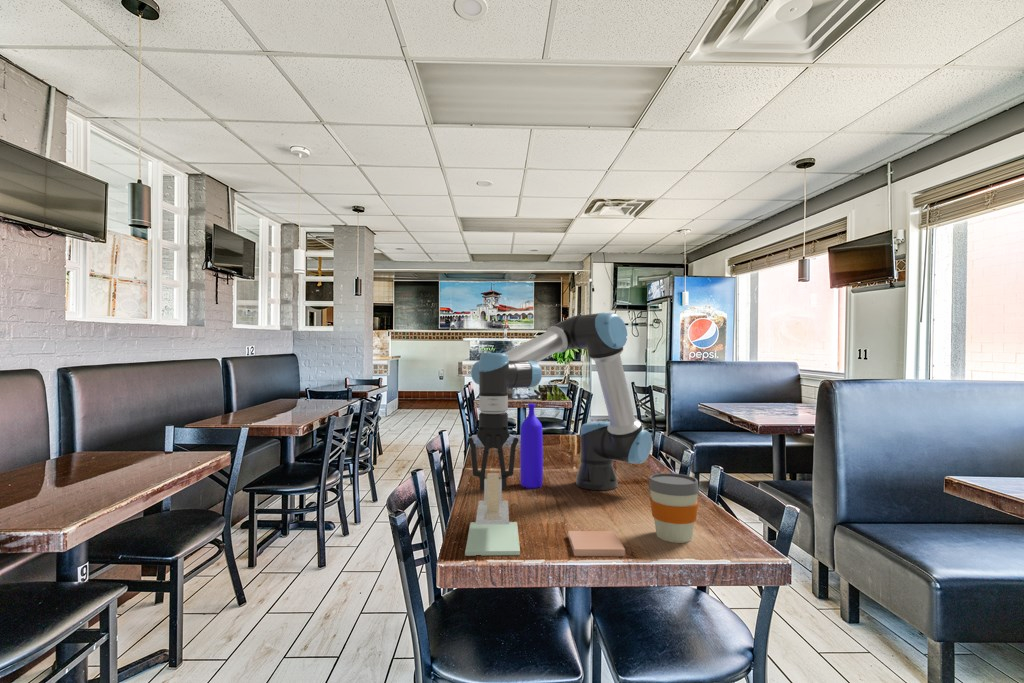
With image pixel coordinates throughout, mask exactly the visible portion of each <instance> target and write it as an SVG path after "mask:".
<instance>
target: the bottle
mask: <svg viewBox="0 0 1024 683" xmlns="http://www.w3.org/2000/svg"><path fill="white" fill-rule="evenodd" d="M527 406H528V415H527V417H525V418H524V420H523V421H522V422H521V425H520V439H519V440H520V449H519V450H520V451H519V452H520V455H519V456H520V458H519V459H520V460H519V461H520V462H519V463H520V465H519V466H520V467H519V468H520V486H521V487H522V486H523V487H522V488H524V487H526V488H525V489H539V488H538V487H540V488H542V486H543V479H544V476H543V475H544V472H543V471H544V447H543V446H544V444H543V440H544V439H543V435H544V434H543V425H542V422H540V420H539V418H537V416H536V415H535V406H537V405H536V403H527Z"/></svg>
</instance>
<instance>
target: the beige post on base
mask: <svg viewBox="0 0 1024 683" xmlns="http://www.w3.org/2000/svg"><path fill="white" fill-rule="evenodd" d="M499 476H500V473H499V472H494V473H493V472H490V473H489V472H487V475H486V477H487V505H484V500H478V503H477V504H478V506H477V510H476V517H475V518H476V519H475V522H476V524H509V522H510V516H509V515H510V512H509V511H510V510H509V500H506V499H505V500H502V505H499Z"/></svg>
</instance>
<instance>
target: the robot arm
mask: <svg viewBox="0 0 1024 683" xmlns="http://www.w3.org/2000/svg"><path fill="white" fill-rule="evenodd" d="M627 337H628V329H627V326H626V324H625V321H624V320H623V319H622V318H621V316H619V315H618V314H617V313H612V312H599V313H590V314H580V315H579V314H578V315H574V316H571V317H568V318H567V319H564V320H562V321H559V322H557V323H556V324H553V325H551V326H549V327H548V328H547V329H546V331H545V332H544V333H542V334H540V335H538V336H536V337H534V338H532V339H530V340H527V341H525V342H524V343H522V344H519V345H517V346H515V347H513V348H512V349H508V350H507V351H505V352H483V353H481V355H480V356H479V360H478V361H475V363H474V364H473V365H472V367H471V371H470V374H471V379H472V381H473V382H474V383H475V384H476V385H479V386H478V389H479V392H478V410H479V411H480V412H479V414H478V431H477V432H476V434H475V435H471V436H469V437H468V438H467V442H468V444H469V446H470V453H471V467H472V468H471V469H472V475H473V477H478V478H479V490H480V491H481V492H483V494H484V495H483V496H484V497H483V501H484V505H487V476H486V475H485V474H486V469H487V463H488V457H489V451H490V449H497V454H498V462H499V469H500V474H501V475H499V505H502V501H503V499H502V496H503V492H502V491H504V492H505V491H506V490H507V479H508V477H512V476H513V475H514V468H515V457H516V447H517V445H518V443H519V440H520V439H519V437H518V436H516V435H515V436H514V435H512V434H510V430H509V428H508V426H509V425H508V424H509V419H508V418H509V414H508V412H507V411H508V410H509V408H508V407H509V389H520V388H521V389H523V388H525V389H526V388H527V389H528V388H535V387H536V386H538V385H539V384H540V382H541V381H542V377H543V374H542V367H541V366H540V364H539V362H542V361H543V360H545V359H546V358H548V357H550V356H552V355H554V354H556V353H557V354H562V353H564V352H566V351H569V350H587V353H588V357H589V359H591V360H593V361H594V363H595V368H596V372H597V374H598V380H599V384H600V387H601V391H602V392H601V393H602V395H603V396H602V397H603V399H604V404H605V408H606V411H607V414H608V419H609V421H595V422H587V423H583V424H582V425H581V426H580V434H579V437H580V439H579V440H580V444H579V445H580V464H579V468H578V470H577V474H576V477H575V483H576V484H575V485H576V486H577V487H579V488H582V489H584V490H585V489H586V490H591V491H592V490H593V491H608V490H614V489H616V488H617V487H618V485H619V484H618V478H617V474H616V471H615V468H614V463H613V461H620V462H626V463H628V464H636V465H638V464H639V465H640V464H642V463H644V462H646V461H647V459H648V457H649V456H650V455H651V454H650V453H651V450H652V447H653V446H652V445H653V440H652V434H651V432H649V431H648V430H646V429H643V427H642V426H643V425H642V422H641V421H640V420H639V419H638V418H637V417H635V416H636V415H635V412H634V408H633V404H632V400H631V395H630V391H629V388H628V383H627V379H626V375H625V374H626V373H625V370H624V367H623V362H622V358H621V357H622V356H621V354H622V353H623V352H624V346H626V344H627V340H628V338H627ZM508 439H509V444H510V451H509V461H508V470H506V464H505V456H504V451H503V446H504V444H506V442H507V440H508ZM478 440H479V441H480V443H481V445H483V446H484V448H483V455H482V462H481V467H480V470H479V465H478V454H477V444H478Z"/></svg>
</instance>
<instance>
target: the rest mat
mask: <svg viewBox="0 0 1024 683" xmlns="http://www.w3.org/2000/svg"><path fill="white" fill-rule="evenodd" d="M519 538H520V537H519V528H518V521H509V524H476V521H475V522H473V521H471V522H470V523H469V529H468V534H467V539H466V545H465V551H464V556H465V557H466V556H472V557H473V556H475V557H477V556H476V555H481V556H521V549H520V548H521V547H520V546H521V545H520V539H519Z"/></svg>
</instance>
